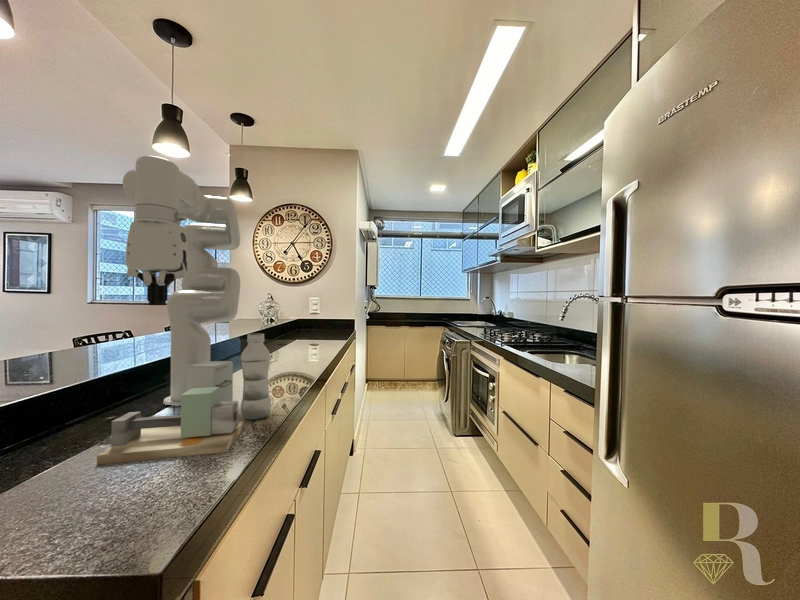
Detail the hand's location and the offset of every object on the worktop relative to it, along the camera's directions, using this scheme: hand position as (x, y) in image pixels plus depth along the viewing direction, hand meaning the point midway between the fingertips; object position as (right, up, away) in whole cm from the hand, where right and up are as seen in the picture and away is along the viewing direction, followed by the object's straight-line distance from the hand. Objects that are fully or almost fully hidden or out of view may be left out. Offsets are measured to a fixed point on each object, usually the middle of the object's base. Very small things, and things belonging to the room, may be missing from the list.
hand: (157, 304), depth 66 cm
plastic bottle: (+17, -27, +9) cm, 33 cm away
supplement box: (+4, -28, +12) cm, 31 cm away
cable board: (+8, -27, -5) cm, 29 cm away
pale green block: (+12, -25, -4) cm, 28 cm away
